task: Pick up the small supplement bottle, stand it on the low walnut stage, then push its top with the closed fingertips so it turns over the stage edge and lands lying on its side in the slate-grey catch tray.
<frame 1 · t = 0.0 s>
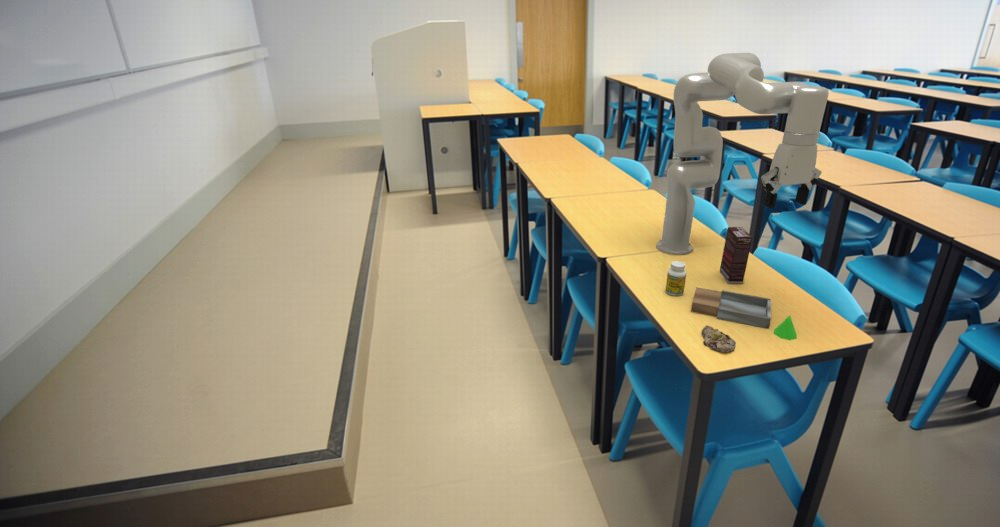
hand: (784, 205, 136), 31 cm above the table, tool pointing down, fingers open, 9 cm apart
supplement box: (730, 278, 167), on the table
supplement bottle: (674, 292, 159), on the table
mineral rock: (716, 343, 135), on the table
gemstone: (784, 335, 138), on the table
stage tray: (726, 309, 149), on the table
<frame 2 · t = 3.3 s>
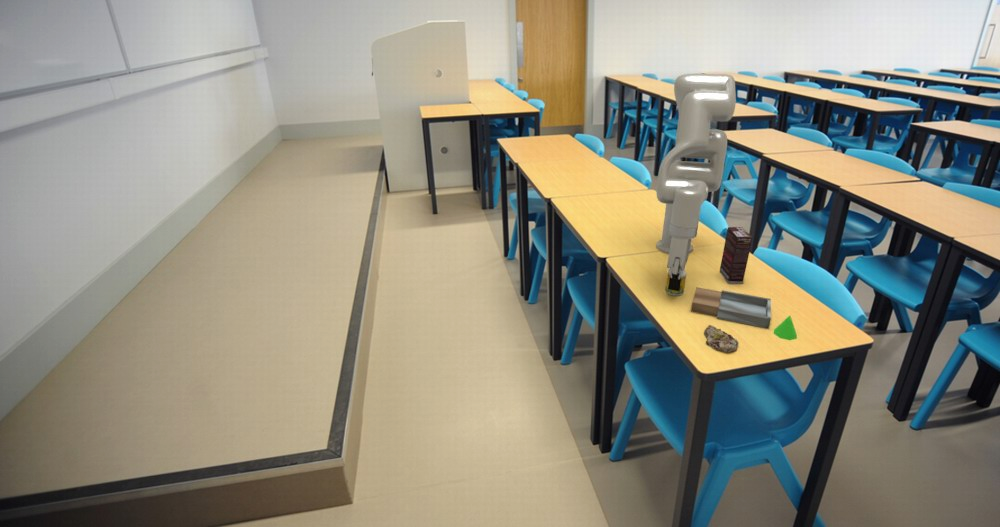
hand: (675, 284, 158), 2 cm above the table, tool pointing down, fingers closed on supplement bottle, 5 cm apart
supplement bottle: (674, 292, 159), on the table, touching gripper
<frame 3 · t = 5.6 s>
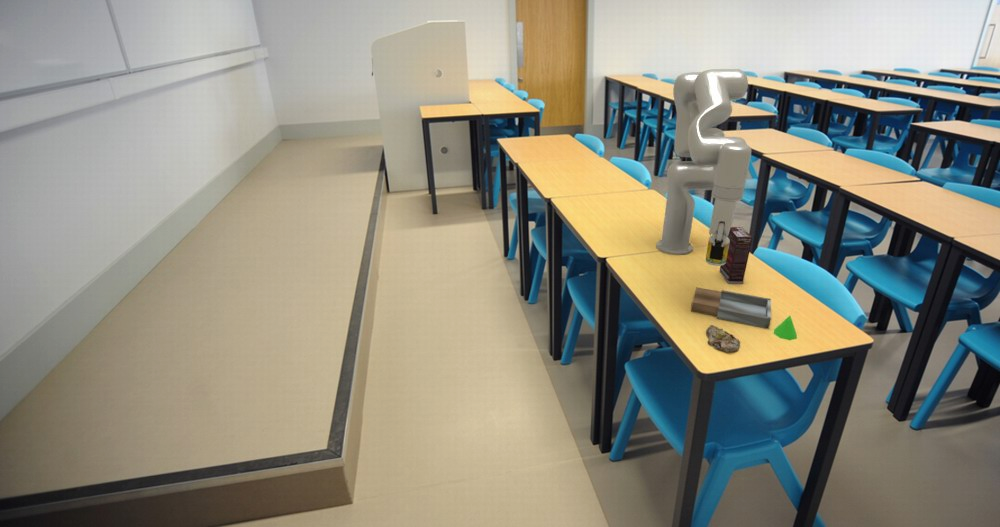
hand: (716, 254, 144), 17 cm above the table, tool pointing down, fingers closed on supplement bottle, 5 cm apart
supplement bottle: (715, 262, 145), point 14 cm above the table, touching gripper
when the fingers open (6 cm above the table, at t = 7.7 s): supplement bottle stays where it is, resting on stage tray.
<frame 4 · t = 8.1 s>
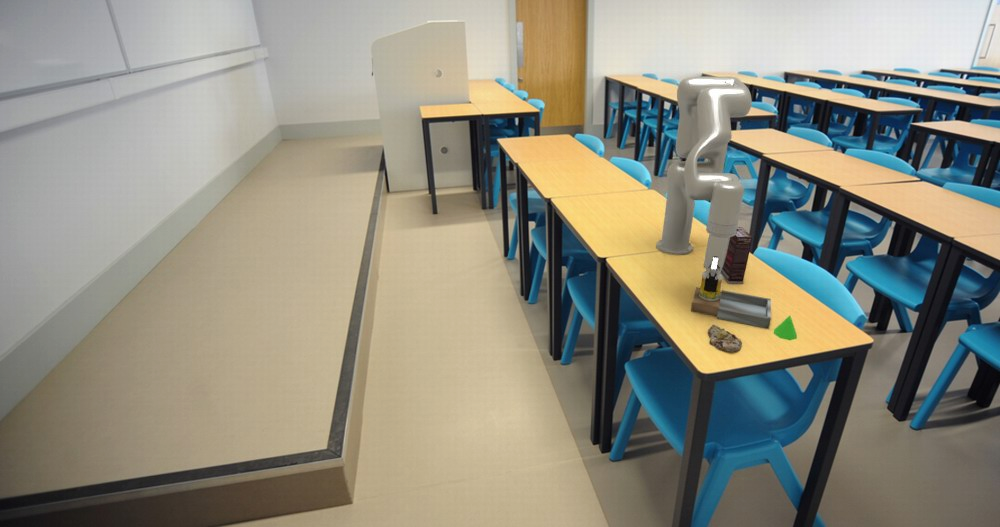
hand: (711, 283, 148), 7 cm above the table, tool pointing down, fingers open, 9 cm apart
supplement bottle: (708, 297, 150), point 3 cm above the table, touching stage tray
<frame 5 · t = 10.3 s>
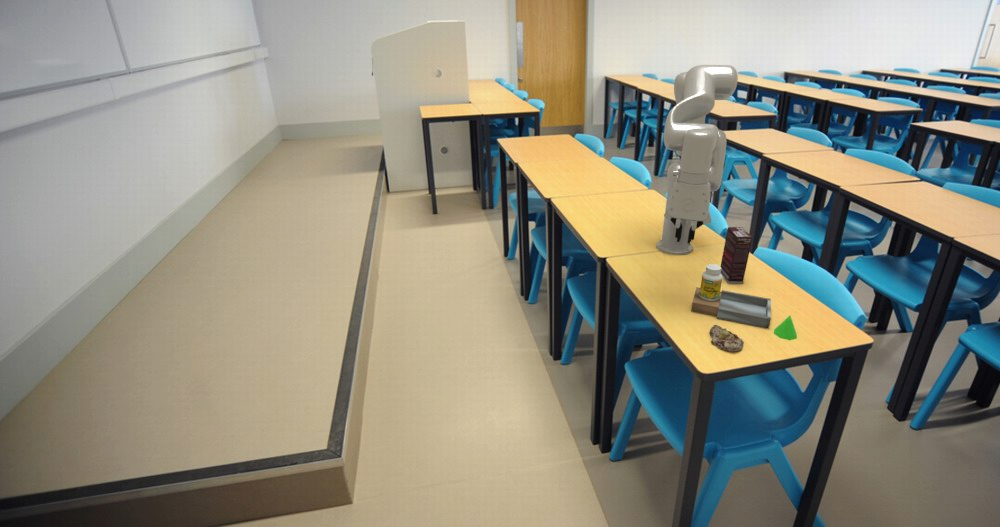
hand: (684, 240, 146), 19 cm above the table, tool pointing down, fingers closed
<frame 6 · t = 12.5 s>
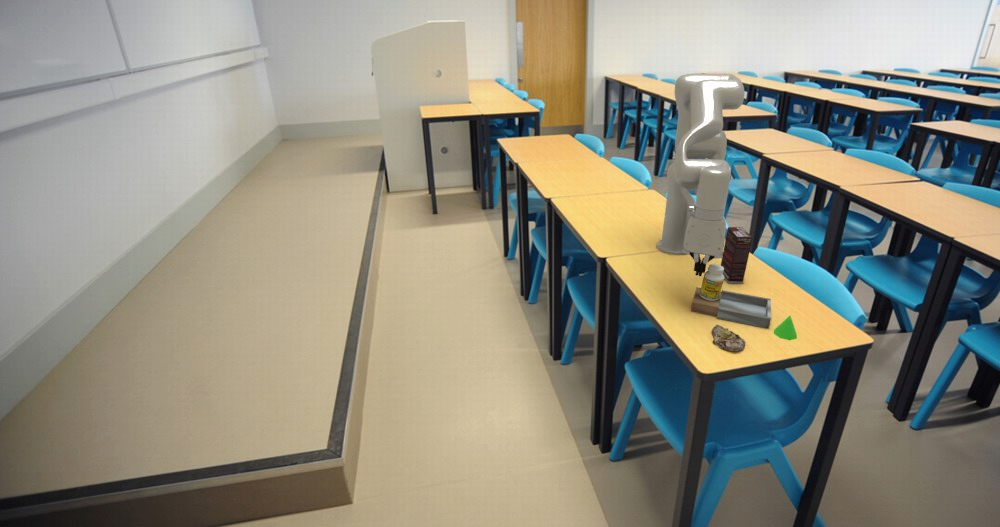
hand: (698, 273, 148), 10 cm above the table, tool pointing down, fingers closed
supplement bottle: (708, 297, 150), point 3 cm above the table, touching gripper, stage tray
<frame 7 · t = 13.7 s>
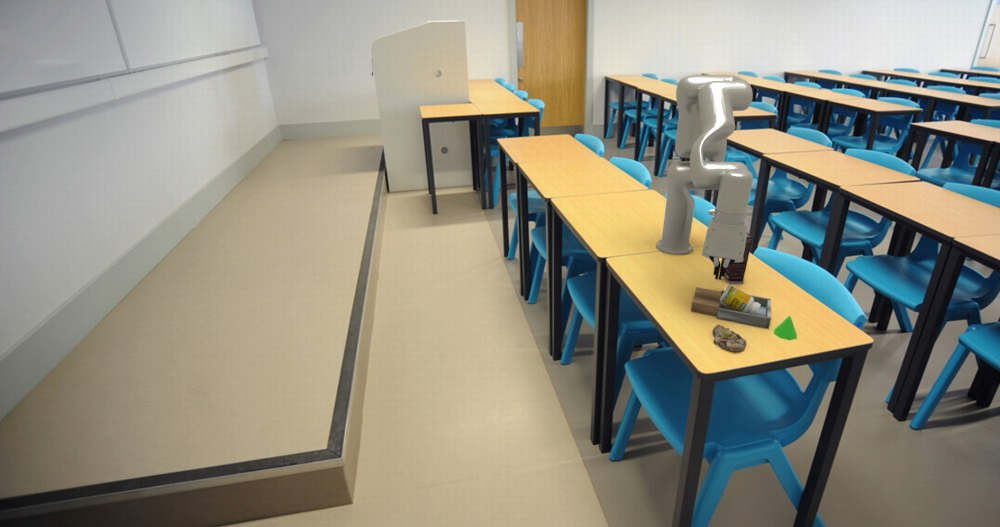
hand: (718, 277, 146), 10 cm above the table, tool pointing down, fingers closed
supplement bottle: (723, 291, 147), point 6 cm above the table, touching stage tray
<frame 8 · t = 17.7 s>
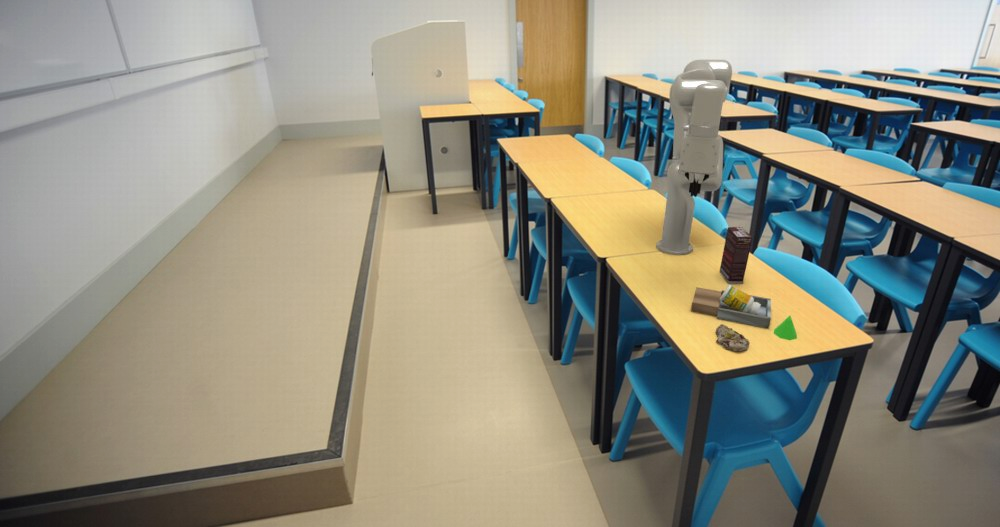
hand: (693, 195, 151), 29 cm above the table, tool pointing down, fingers closed
at the end: supplement bottle tilted 110°; supplement bottle inside the target area (5.8 cm from its centre), point 5.7 cm above the table; the gripper is holding nothing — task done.
